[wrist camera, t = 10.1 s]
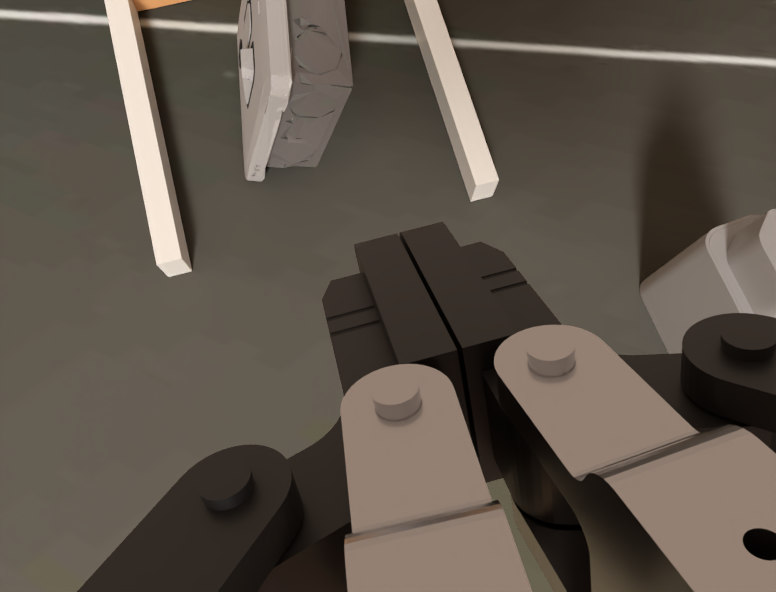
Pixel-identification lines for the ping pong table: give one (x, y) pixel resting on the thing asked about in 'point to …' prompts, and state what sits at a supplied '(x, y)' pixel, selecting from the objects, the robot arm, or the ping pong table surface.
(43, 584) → the ping pong table surface
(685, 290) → the power adapter
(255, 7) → the electrical switch
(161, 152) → the frame
